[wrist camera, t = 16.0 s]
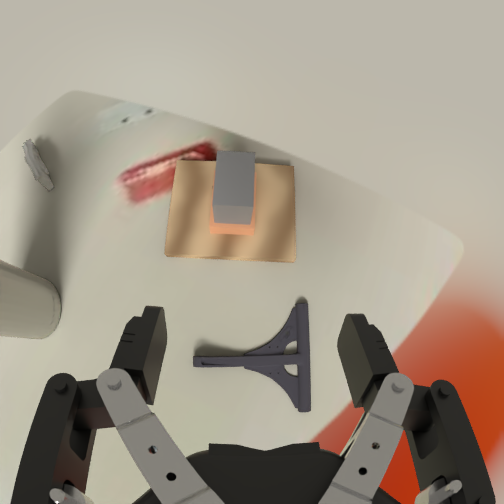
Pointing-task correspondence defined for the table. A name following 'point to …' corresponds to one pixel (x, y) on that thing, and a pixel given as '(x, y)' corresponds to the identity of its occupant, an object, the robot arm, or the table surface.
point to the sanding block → (234, 194)
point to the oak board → (231, 245)
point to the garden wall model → (37, 164)
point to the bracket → (278, 359)
